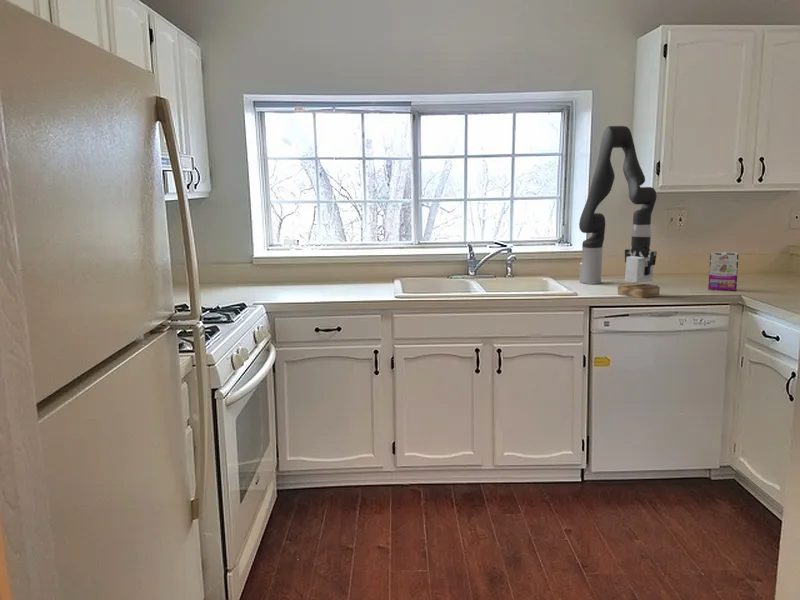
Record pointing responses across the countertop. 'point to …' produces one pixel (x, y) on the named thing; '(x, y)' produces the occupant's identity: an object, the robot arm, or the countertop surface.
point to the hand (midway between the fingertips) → (639, 274)
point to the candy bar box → (723, 271)
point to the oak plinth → (638, 290)
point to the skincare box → (637, 270)
